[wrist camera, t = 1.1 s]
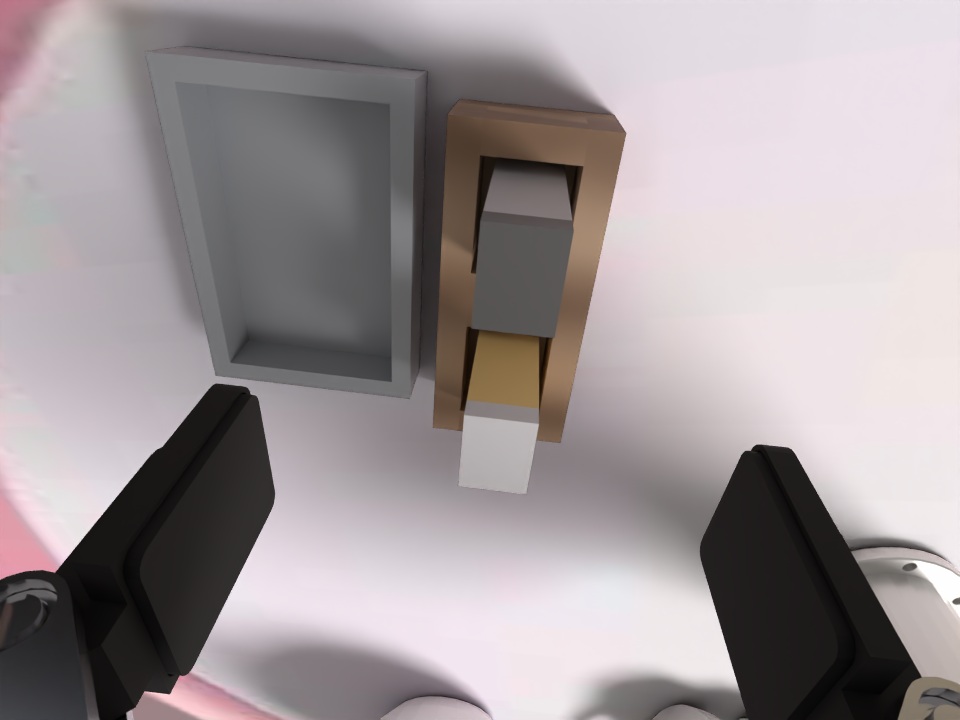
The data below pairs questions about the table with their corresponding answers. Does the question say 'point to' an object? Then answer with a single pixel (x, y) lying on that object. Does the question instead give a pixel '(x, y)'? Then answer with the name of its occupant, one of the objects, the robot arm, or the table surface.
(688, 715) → the headphones
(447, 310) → the block
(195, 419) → the robot arm
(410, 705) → the vase
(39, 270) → the table surface
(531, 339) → the block
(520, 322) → the block
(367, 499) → the table surface
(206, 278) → the parts tray
